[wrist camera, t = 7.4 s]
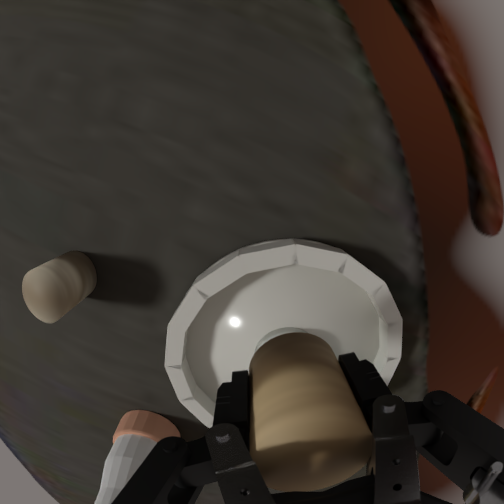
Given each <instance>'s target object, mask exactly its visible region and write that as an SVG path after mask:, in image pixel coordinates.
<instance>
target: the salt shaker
mask: <svg viewBox="0 0 504 504" xmlns="http://www.w3.org/2000/svg"><path fill="white" fill-rule="evenodd" d="M170 436H176V437H180V432H179V431H178V429H177V428H176V426H175V425H174V424H173V423H172V422H170V421H169V420H168V419H166V418H164V417H163V416H161V415H159V414H156V413H153V412H150V411H145V410H132V411H130V412H127V413H125V415H124V416H123V417H122V419H121V421H120V423H119V425H118V427H117V429H116V432H115V434H114V436H113V444H114V445H113V447H112V449H111V451H110V453H109V455H108V457H107V459H106V461H105V466H104V470H103V476H102V481H101V486H100V491H99V493H98V496H97V498H96V501H95V504H111V503H112V502H113V501H114V499H115V498H116V497H117V495H118V494H119V493H120V492H121V490H122V489H123V488H124V486H125V485H126V484H127V482H128V481H129V480H130V478H131V477H132V476H133V474H134V473H135V472H136V470H137V469H138V468H139V466H140V465H141V464H142V462H143V461H144V460H145V458H146V457H147V456H148V454H149V453H150V452H151V450H152V449H153V448H154V446H155V445H156V444H157V442H158V441H160V440H161V439H163V438H166V437H170ZM180 438H181V437H180Z"/></svg>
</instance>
